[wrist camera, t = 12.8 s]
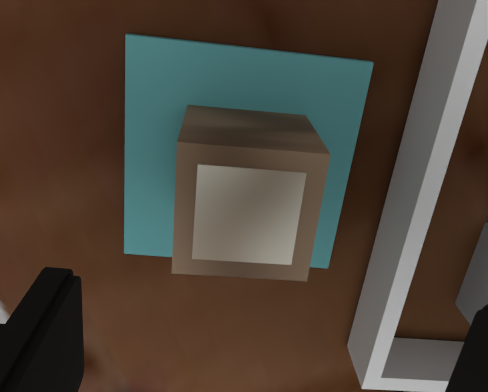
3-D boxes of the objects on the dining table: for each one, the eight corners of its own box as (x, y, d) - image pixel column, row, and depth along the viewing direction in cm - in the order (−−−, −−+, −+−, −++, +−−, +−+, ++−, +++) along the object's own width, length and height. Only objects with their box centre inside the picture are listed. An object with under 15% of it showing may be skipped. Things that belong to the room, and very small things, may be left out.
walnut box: (305, 115, 20) (331, 154, 15) (289, 219, 22) (307, 282, 17) (187, 104, 19) (176, 142, 15) (182, 211, 21) (171, 274, 17)
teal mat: (370, 60, 19) (373, 62, 19) (326, 263, 23) (328, 268, 23) (127, 33, 18) (125, 34, 18) (125, 248, 23) (123, 253, 22)
